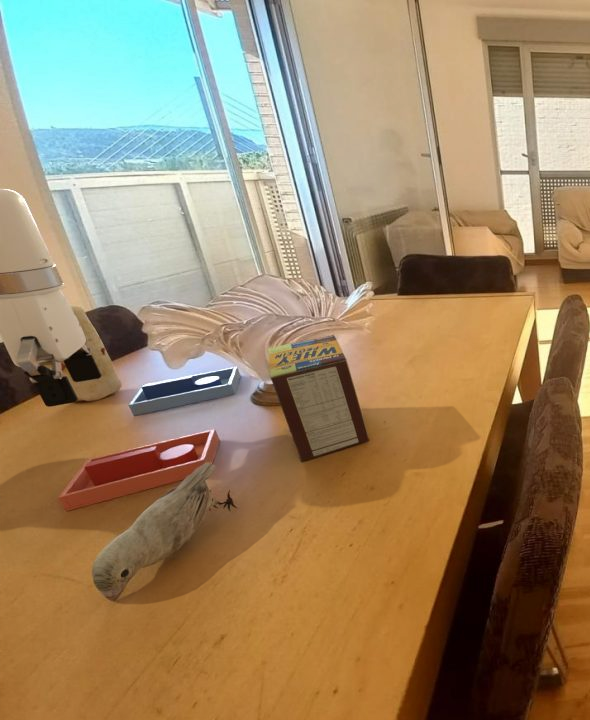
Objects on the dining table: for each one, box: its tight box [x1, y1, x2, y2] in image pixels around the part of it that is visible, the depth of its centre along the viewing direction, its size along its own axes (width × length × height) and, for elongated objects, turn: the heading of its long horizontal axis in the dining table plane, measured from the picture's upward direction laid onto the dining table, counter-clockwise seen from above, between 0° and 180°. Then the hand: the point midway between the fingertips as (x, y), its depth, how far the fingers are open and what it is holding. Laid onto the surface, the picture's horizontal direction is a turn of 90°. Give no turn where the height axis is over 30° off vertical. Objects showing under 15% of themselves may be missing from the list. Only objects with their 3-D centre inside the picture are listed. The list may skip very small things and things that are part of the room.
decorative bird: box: [91, 462, 238, 603], centre depth 58 cm, size 5×16×8 cm, turn 178°
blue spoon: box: [140, 374, 222, 400], centre depth 100 cm, size 12×4×4 cm, turn 122°
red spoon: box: [84, 444, 198, 486], centre depth 74 cm, size 12×4×4 cm, turn 122°
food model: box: [37, 305, 123, 402], centre depth 98 cm, size 10×7×20 cm
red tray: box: [57, 428, 221, 512], centre depth 75 cm, size 16×11×2 cm
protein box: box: [267, 334, 370, 462], centre depth 82 cm, size 10×15×16 cm
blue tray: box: [128, 366, 242, 416], centre depth 101 cm, size 16×11×2 cm
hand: (76, 391), depth 73 cm, fingers open, 9 cm apart
